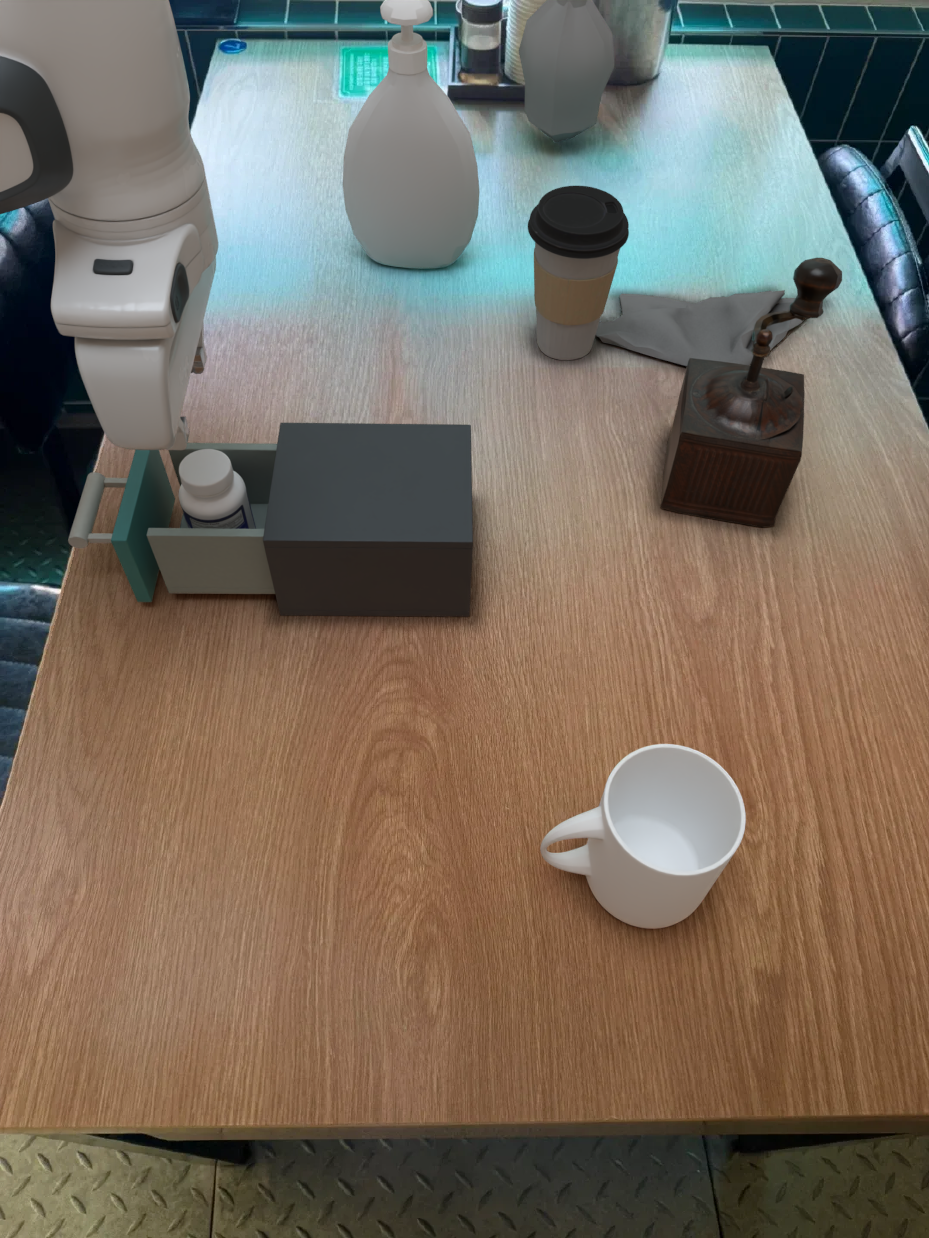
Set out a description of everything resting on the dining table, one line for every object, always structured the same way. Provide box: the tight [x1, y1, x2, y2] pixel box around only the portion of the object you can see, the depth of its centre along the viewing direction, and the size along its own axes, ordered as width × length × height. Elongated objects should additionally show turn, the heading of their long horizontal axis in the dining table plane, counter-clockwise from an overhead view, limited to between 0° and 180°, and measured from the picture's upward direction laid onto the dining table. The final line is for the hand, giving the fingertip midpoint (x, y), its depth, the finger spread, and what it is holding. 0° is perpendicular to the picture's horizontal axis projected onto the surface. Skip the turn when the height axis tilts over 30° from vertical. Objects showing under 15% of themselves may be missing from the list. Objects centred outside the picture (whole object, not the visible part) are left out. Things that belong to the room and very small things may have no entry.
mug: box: [539, 743, 747, 929], centre depth 61 cm, size 9×12×11 cm
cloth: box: [595, 289, 804, 367], centre depth 99 cm, size 26×14×2 cm, turn 93°
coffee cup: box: [527, 185, 630, 361], centre depth 93 cm, size 9×9×15 cm
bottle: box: [518, 0, 615, 144], centre depth 110 cm, size 11×11×30 cm
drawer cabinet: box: [263, 422, 474, 618], centre depth 78 cm, size 16×13×10 cm
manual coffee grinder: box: [660, 257, 843, 528], centre depth 82 cm, size 16×11×18 cm
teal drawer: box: [67, 442, 277, 603], centre depth 77 cm, size 19×11×8 cm, turn 90°
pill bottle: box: [178, 449, 256, 529], centre depth 76 cm, size 5×5×9 cm
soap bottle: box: [342, 0, 480, 270], centre depth 96 cm, size 14×8×27 cm, turn 86°
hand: (185, 404), depth 67 cm, fingers open, 6 cm apart
